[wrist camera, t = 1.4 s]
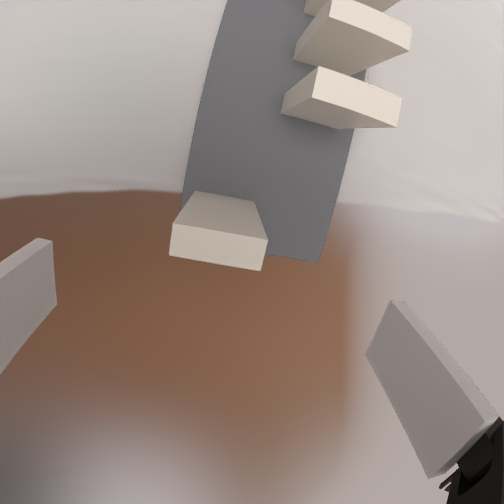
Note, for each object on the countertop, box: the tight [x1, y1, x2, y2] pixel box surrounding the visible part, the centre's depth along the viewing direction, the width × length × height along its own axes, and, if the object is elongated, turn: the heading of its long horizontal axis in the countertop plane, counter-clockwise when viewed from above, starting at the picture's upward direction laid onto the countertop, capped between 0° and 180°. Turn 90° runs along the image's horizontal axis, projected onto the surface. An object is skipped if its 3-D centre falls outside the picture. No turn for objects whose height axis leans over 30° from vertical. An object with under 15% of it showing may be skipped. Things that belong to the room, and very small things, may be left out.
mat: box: [180, 0, 366, 263], centre depth 21 cm, size 13×34×1 cm, turn 168°
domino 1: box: [169, 191, 268, 271], centre depth 20 cm, size 5×2×10 cm, turn 78°
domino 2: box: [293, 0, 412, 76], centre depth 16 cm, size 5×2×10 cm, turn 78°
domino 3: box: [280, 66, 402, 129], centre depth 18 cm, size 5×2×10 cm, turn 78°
